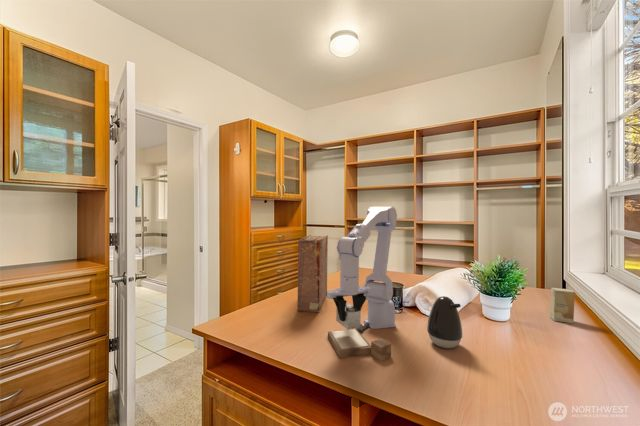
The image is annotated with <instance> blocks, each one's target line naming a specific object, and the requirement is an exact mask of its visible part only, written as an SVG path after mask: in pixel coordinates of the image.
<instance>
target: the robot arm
mask: <svg viewBox="0 0 640 426" xmlns="http://www.w3.org/2000/svg"><path fill="white" fill-rule="evenodd" d="M397 219H398V214H397V210H396V208H395V207H394V205H393V206H392V205H391V206H369V207H368V209H367V210H366V217H365V218H364V220H363V221H362V222H361V223H357V224H355V225H354V227H353V229H352V230H351V231H350V232H349V233H348V234H347V235H346V236H343V237H341V238H339V240H338V242H337V246H336V251H337V253H338V259H339V261H340V274H339V275H340V279H339V280H340V284H339V288H336V289H331V290H327V296H326V298H327V299H329V300H333V302H334V304H335V307H336V311H337V310H338V314H339V319H340V320H341V321H344V320H345V306H346V304H347V300H346V299H345V298H344V297H351V299H352V306H353V307H355V308H356V309H358V310H360V311H362V308H363V305H364V304H365V302H366V300H367V318H366V319H363V322H364V323H366V322H368V323H369V326H368V327H370V329H372V330H377V329H389V328H395V327H396V320H395V319H396V308H395V304H394V302H393V300H392V299H393V295H394V287H393V285H394V284H393V283H394V282H393V281H392V279H391V278H390V277H389V276H388V275H387V271H388V270H387V269H388V262H389V255H390V244H391V238H392V232H393V231H394V230H396V226H397ZM372 229H374V230H376V232H377V238H376V239H377V240H376V244H375V245H376V246H375V255H374V262H373V267H372V273H370V274H369V275H368V276H366V277H365V281H364V283H363V284H364V285H363V286H359V284H360V282H359V281H360V279H359V278H360V277H359V276H360V275H359V272H360V270H359V269H360V256H361V255H362V253H363V250H364V247H365V243H366V242H367V240H368V239H369V238H370V236H371V231H372ZM396 328H397V327H396Z"/></svg>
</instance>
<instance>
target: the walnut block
mask: <svg viewBox="0 0 640 426" xmlns="http://www.w3.org/2000/svg"><path fill="white" fill-rule="evenodd" d="M370 345H371V354H370V355H371V356H372V357H374V358H375V359H377V360H378V361H380V362H382V361H385V360H387V359H389V358H391V357H392V343H391V342H388V341H387V340H385V339H383V338H377V339H375V340H372V341H371V342H370Z"/></svg>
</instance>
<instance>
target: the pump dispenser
mask: <svg viewBox="0 0 640 426" xmlns="http://www.w3.org/2000/svg"><path fill="white" fill-rule="evenodd" d="M458 308H461V303H454V301H453V299H452V298H450V297H448V296H446V295H445V296H438V298H436V299H435V301H434V303H433V305H432V307H431V310H430V312H429V316H428V320H427V326H426V328H427V329H426V331H427V333H428V337H429V339H430V340H431V342H432V343H433V344H434V345H436V346H438V347H440V348H443V349H453V348H456V347H457V346H458V345H459V344H460V343H461V340H462V339H463V327H462V326H463V325H462V321H461V317H460V314H459V311H458Z"/></svg>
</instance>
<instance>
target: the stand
mask: <svg viewBox="0 0 640 426" xmlns="http://www.w3.org/2000/svg"><path fill="white" fill-rule="evenodd" d="M327 338H328V341H329V342H330V344H331V345H332V347H333V348H334V351H335V352H336V354H337V356H338V358H339V359H344V358H350V357H360V356H368V355H371V343H369V342H368V341H367V339H366V338H365V337H364V336H363V335H362V334H361V332H359V331H358V330H357V329H356V328H355V329H349V330H347V329H342V330H332V331H330V330H329V331H327Z"/></svg>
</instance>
